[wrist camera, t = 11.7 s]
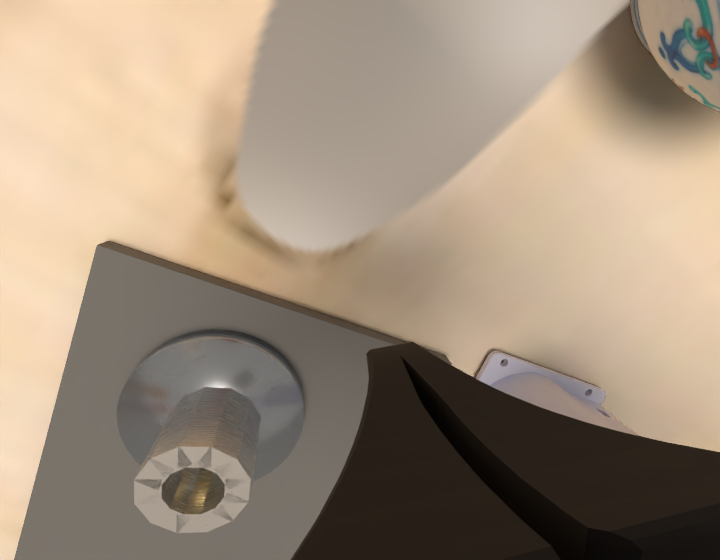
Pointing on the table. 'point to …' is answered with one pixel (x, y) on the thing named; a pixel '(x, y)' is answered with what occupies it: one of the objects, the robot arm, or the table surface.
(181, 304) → the mat
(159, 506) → the ridged pipe fitting
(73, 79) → the table surface
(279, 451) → the hub
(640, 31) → the chinaware
